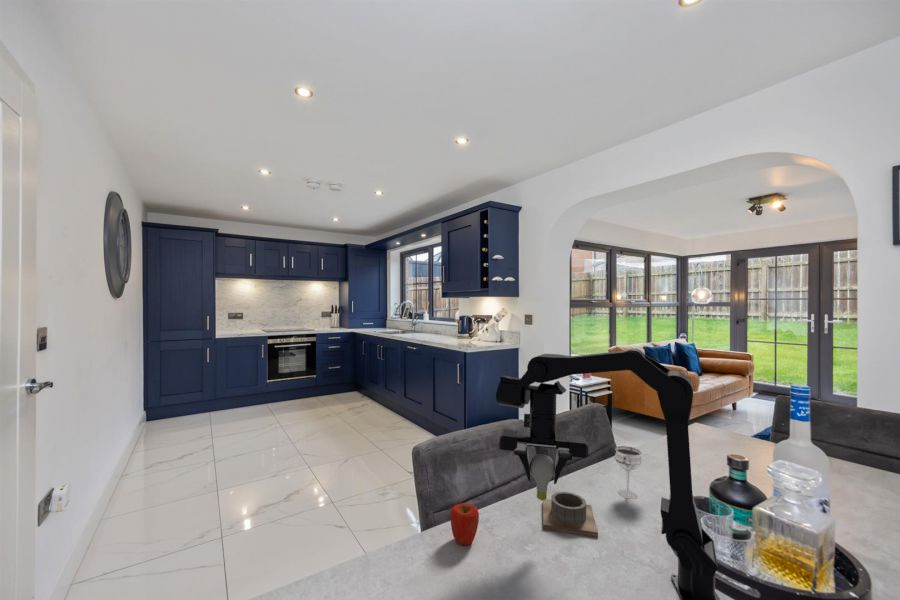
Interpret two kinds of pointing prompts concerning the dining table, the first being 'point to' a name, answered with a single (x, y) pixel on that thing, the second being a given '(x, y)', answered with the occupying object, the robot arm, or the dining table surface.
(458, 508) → the apple
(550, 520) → the socket base
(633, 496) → the wineglass
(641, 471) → the dining table surface
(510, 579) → the dining table surface
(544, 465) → the light bulb
